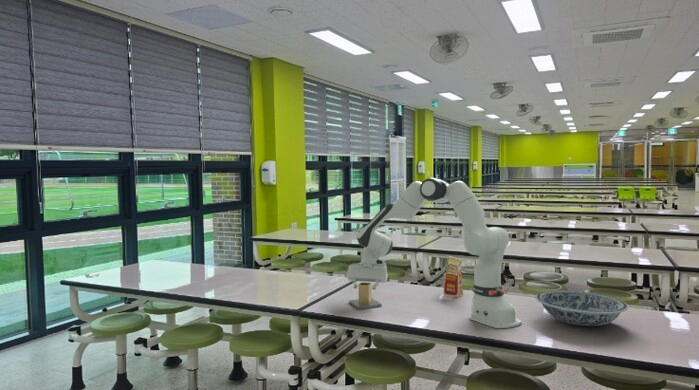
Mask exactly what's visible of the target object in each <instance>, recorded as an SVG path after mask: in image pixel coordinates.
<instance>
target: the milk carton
mask: <svg viewBox="0 0 699 390" xmlns="http://www.w3.org/2000/svg"><path fill="white" fill-rule="evenodd" d="M463 260H464V259H463V258H456V257H454V256H451V255H448V261H447V266H446V269H445V275H444V280H443V281H444V282H443V288H442V289H443V293H442V294H443V295H442V297H443V296H445V297H451V298H452V297H454V298H459V297H463V296H464V291H463V271H462V262H463Z"/></svg>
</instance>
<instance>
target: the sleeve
mask: <svg viewBox="0 0 699 390" xmlns="http://www.w3.org/2000/svg"><path fill="white" fill-rule="evenodd" d="M357 285H358V286H357V289H358V299H359V303H361V304H369V303H370V302H371V298H372V282H363V281H360V283H359V284H357Z"/></svg>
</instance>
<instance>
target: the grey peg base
mask: <svg viewBox="0 0 699 390" xmlns="http://www.w3.org/2000/svg"><path fill="white" fill-rule="evenodd" d="M348 303H349V304H350V305H351V306H352V307H354V308H355V309H357V310H358V311H359V310H366V309H373V308H378V307H380V308H381V307H382V303H381V302H379V301H378V300H376V299H375V298H373V297H371V302H370V303H369V304H361V303H359V298H358V299H350V300H348Z"/></svg>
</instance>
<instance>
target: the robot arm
mask: <svg viewBox="0 0 699 390" xmlns="http://www.w3.org/2000/svg"><path fill="white" fill-rule="evenodd" d="M427 201H430V202H432V203H436V204H441V205H442V204H443V205H444V204H447V203H450V205H451V207H452V208H453V210H454V212H455V213H456V215H457V217H458V219H459V221H460V222H461V224H462V227H463V232H464V239H463V246H464V249H465V250H466V252H467V253H468V254H470V255H471V256H472V255H473V256H478V259H477V261H476V263H475V264H474V267H473V268H474V269H473V271H474V272H473V273H474V275H473V276H474V277H473V278H474V283H473V285H472V286H473V287H472V290H473V297H472V300H471V309H470V315H469V317H468V319H469V320H471V321H474V322H477V323H478V324H479V323H480V324H483V325H486V326H488V327H492V328H495V329H507V328H508V329H509V328H513V327H517V326H520V325H522V323H523V322H522V320H520V319H519V318H517V317H516V309H515V307H514V306H513V304H511V303H510V302H509V300H508V299H507V298H506V297H505V295H504V293H505V292H506V291H505V290H506V289H503V286H502V284H501V281H502V280H501V277H502V276H501V275H502V274H501V272H502V264H503V259H504V254H505V252H506V251H505V250H506V249H507V246H509V244H510V234H509V232H508V231H507V230H506V229H504V228H502V227H499V226H492V227H488V226H487V224H486V221H485V215H486V213H485V210H484V209H483V207H482V205H481V203H480V202H479V200H478V199H477V197H476V195H475V194H474V193H473V191H472V190H471V188H470V187H468V185H467V184H466V183H465V182H464V181H462V180H457V181H454V182H452V183H449V182H447V181H444V180H442V179H440V178H435V177H428V178H426V179H424V180H423V181H420V180H419V181H418V180H416V181H413V182H411V183H410V184H409V186H407V188H405V190H404V191H403V193H402V194H401V195H400V197H399V198H397V200H394V201H393V202H389V203H386V205H385V206H383V207H382V208H381V209H380V210H379V211H378V212H377V213H376V214H375V215H374V216H373V217H372V219H371V220H370V221H369V222H367V224H365V225H364V226H363V227H362V228H361V229H360V230H359V231H358V233H357V235H356V239H357V242H358V245H359V246H361V247H363V251H362V252H363V254H362V256H361V259H360V263H355V262H354V263H351V264H350V265H348V269H347V272H346V278H347V280H348V281H349V282H353V288H354V289H358V285H359V284H357V282H362V283H375V284H372V286H371V290H373V291H374V290H375V291H376V290H377V287H378V286H379V285H380V283H383V284H384V283H386V282H387V281H388V271H387V270H388V268H387V263H386V261H384V260H381V259H380V258H382V257H385V256H387V255H389V254H390V253H392V250H393V245H394V244H393V239H392V238H391V237H389V236H388V235H385V234H383V233H382V232H379V231H378V230H377V229H378V228H379V227H380V226H381V225H382V224H383V223H384V222H385V221H386V220H388V219H402V220H409V219H411V218H413V217H415V216H416V214H417V213H418V212H419V210H420V209H421V208H422V206H423V205H424V203H426V202H427Z"/></svg>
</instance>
